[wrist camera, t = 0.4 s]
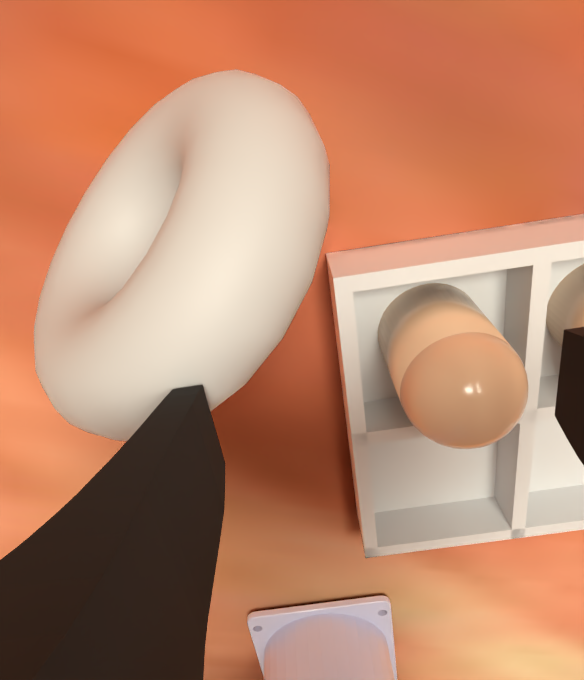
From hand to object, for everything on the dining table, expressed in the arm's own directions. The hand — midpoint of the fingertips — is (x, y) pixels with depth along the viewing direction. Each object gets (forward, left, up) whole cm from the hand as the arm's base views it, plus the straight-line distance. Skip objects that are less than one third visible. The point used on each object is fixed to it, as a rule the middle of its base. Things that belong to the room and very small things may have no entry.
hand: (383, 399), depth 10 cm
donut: (+4, +6, -10) cm, 12 cm away
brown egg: (-4, -3, -10) cm, 11 cm away
